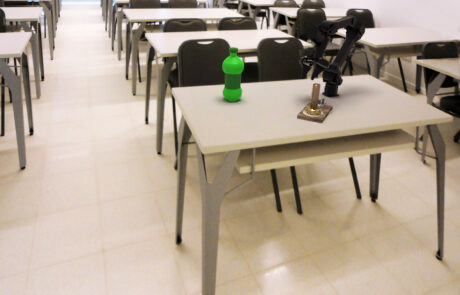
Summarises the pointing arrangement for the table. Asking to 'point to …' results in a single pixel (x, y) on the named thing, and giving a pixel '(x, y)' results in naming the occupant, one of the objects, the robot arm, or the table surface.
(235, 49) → the plastic bottle
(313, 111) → the brass gear
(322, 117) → the gear board
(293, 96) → the table surface
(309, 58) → the robot arm
